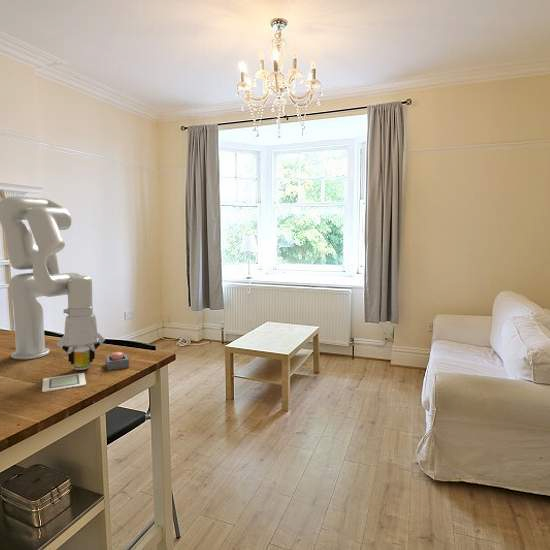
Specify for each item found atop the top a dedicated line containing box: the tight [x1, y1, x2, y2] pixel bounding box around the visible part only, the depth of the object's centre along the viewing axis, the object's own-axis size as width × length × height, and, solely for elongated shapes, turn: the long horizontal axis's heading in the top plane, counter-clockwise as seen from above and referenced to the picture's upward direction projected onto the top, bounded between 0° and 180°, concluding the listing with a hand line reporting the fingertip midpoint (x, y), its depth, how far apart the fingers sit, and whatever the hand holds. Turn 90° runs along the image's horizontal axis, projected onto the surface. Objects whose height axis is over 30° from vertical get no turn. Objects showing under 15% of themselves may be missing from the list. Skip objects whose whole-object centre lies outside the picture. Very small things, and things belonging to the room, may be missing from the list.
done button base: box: [105, 353, 130, 371], centre depth 143 cm, size 7×7×3 cm
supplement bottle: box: [72, 345, 91, 371], centre depth 138 cm, size 5×5×10 cm
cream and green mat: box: [41, 372, 87, 393], centre depth 127 cm, size 11×12×1 cm
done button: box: [110, 351, 124, 361], centre depth 142 cm, size 4×4×2 cm
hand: (81, 361), depth 139 cm, fingers closed on supplement bottle, 5 cm apart
